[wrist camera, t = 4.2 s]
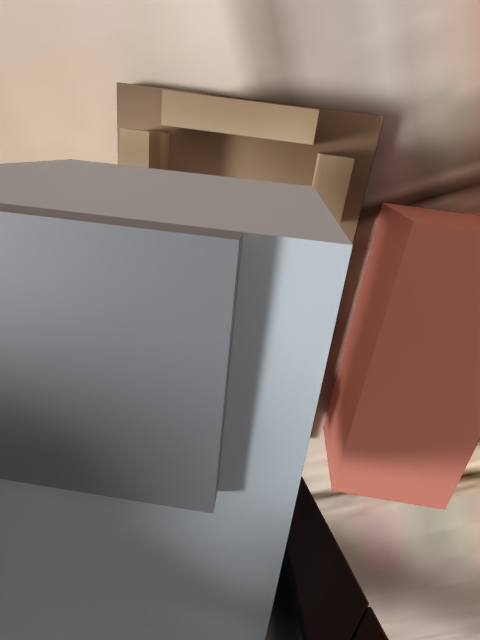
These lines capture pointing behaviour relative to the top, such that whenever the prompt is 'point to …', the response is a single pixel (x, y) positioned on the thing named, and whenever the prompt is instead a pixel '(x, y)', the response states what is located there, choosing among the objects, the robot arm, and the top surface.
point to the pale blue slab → (155, 395)
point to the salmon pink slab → (410, 362)
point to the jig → (251, 142)
